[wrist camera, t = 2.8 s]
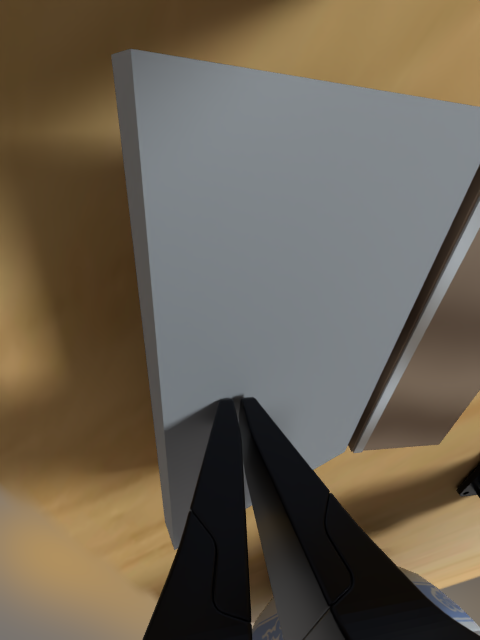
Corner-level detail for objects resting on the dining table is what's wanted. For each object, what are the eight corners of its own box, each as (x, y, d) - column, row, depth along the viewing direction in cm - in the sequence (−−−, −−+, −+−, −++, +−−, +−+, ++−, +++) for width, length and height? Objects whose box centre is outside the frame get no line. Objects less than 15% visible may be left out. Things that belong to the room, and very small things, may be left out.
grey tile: (329, 434, 18) (344, 451, 18) (165, 521, 14) (174, 549, 13) (461, 108, 9) (504, 111, 9) (110, 55, 5) (131, 49, 4)
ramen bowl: (217, 618, 39) (224, 724, 32) (209, 544, 26) (216, 698, 19) (403, 584, 42) (444, 675, 35) (481, 503, 29) (569, 624, 22)
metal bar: (424, 424, 20) (440, 446, 18) (341, 430, 19) (351, 453, 18) (621, 127, 11) (677, 130, 9) (479, 111, 10) (520, 112, 8)
